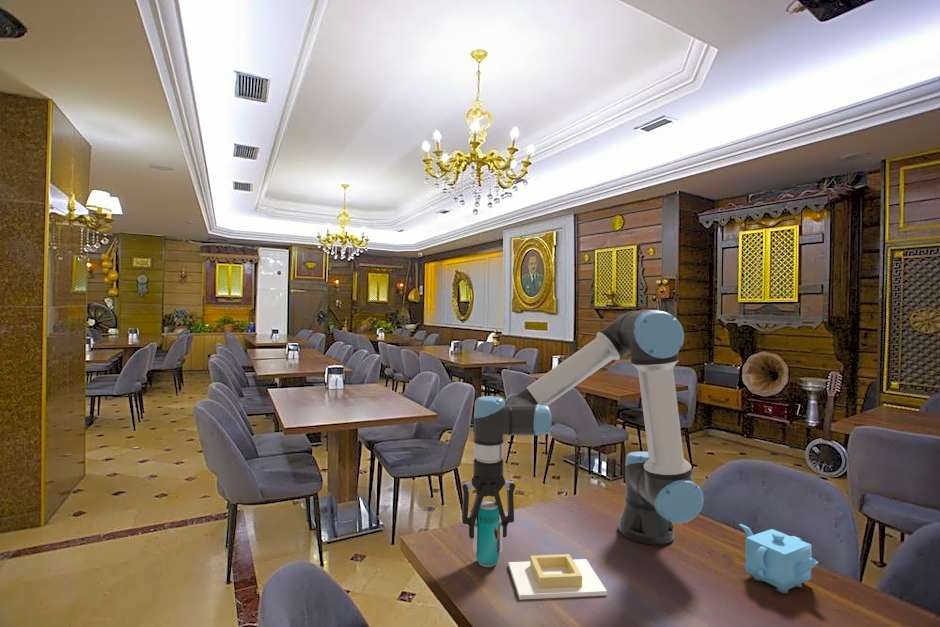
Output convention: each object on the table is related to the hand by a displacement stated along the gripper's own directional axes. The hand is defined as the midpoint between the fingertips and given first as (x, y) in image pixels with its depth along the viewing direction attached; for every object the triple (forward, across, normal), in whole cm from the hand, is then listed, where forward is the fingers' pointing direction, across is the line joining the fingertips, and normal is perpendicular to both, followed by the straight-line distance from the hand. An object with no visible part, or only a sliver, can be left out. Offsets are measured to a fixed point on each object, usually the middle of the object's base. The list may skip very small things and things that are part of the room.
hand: (487, 549), depth 122 cm
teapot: (+4, -68, +13) cm, 69 cm away
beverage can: (+4, 0, 0) cm, 4 cm away
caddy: (+3, -15, +9) cm, 18 cm away
